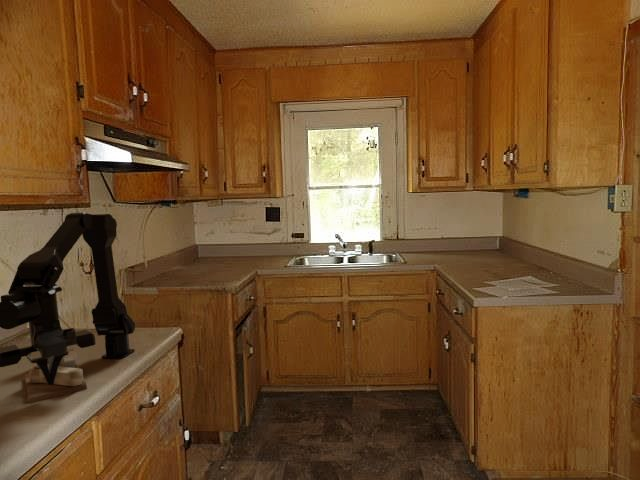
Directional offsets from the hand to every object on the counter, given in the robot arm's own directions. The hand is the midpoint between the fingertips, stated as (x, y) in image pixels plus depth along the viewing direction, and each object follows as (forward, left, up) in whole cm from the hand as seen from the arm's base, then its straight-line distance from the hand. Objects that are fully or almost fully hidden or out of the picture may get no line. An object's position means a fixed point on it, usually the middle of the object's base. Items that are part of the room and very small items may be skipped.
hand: (50, 384), depth 105 cm
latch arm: (-5, -3, -2) cm, 6 cm away
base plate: (-7, -5, -3) cm, 9 cm away
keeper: (-10, -7, -3) cm, 12 cm away
